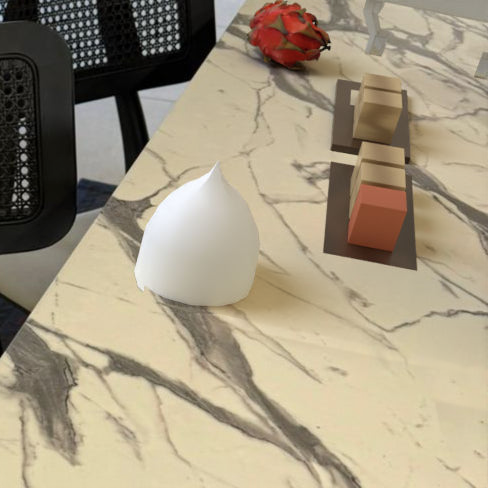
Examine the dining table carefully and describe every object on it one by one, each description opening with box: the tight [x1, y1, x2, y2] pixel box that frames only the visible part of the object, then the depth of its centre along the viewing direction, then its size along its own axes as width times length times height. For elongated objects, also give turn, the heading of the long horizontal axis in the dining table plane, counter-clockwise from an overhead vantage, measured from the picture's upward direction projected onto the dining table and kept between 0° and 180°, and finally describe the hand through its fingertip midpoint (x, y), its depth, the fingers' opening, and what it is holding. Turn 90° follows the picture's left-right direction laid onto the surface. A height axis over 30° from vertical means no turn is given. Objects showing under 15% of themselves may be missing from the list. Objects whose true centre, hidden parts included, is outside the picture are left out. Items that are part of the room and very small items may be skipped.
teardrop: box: [133, 159, 261, 315], centre depth 91 cm, size 11×11×12 cm
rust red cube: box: [348, 184, 407, 252], centre depth 101 cm, size 4×4×4 cm
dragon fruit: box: [246, 0, 332, 71], centre depth 138 cm, size 8×8×12 cm
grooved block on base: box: [322, 142, 418, 272], centre depth 106 cm, size 9×22×5 cm, turn 165°
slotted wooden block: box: [330, 72, 412, 165], centre depth 126 cm, size 9×22×5 cm, turn 165°
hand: (427, 65), depth 90 cm, fingers open, 8 cm apart
